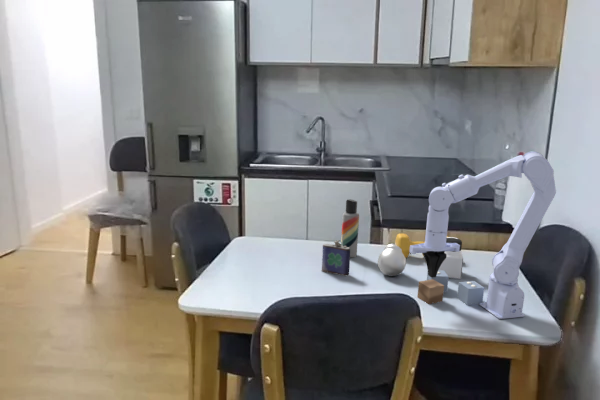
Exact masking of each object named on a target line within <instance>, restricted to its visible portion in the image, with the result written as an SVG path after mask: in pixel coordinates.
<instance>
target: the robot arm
mask: <svg viewBox="0 0 600 400" xmlns="http://www.w3.org/2000/svg"><path fill="white" fill-rule="evenodd" d="M522 174H523V175H524V176H525V177H526V179H528V181H529V182H530V184H531V186H532V188H533V193H532V195H531V196H530V198H529V200H528V202H527V204H526V205H525V208H524V209H523V211H522V214H521V215H520V217H519V219H518V221H517V223H516V225H515V227H514V228H513V230H512V233H511V234H510V235H509V238H508V240H507V241H506V243H505V244H504V245H503V246H502V248H501V250H500V251H498V252H496V253H495V254H494V255H493V257H492V259H491V263H492V264H491V265H492V267H493V272H492V273H491V274H490V275H489V280H488V288H487V295H486V296H487V297H486V302H485V301H484V302H482V303H480V304H479V305H480V306H481V307H483V309H485V310H486V311H488V313H490V314H492V315H493V316H494V317H496V318H497V319H499V320H503V319H504V320H505V319H512V318H522V317H525V314H524V313H523V310H524V309H523V308H524V303H525V302H524V301H525V293H524V290H523V289H522V288H521V287H520V286H519V283H518V281H519V280H518V279H519V275H520V266H521V265H522V262H523V258H524V254H525V252H526V250H527V248H528V246H529V244H530V243H531V240H532V239H533V236H534V235H535V233H536V231H537V230H538V228H539V225H540V224H541V222H542V221H543V219H544V216H545V214H546V212H548V210H549V207H550V205H551V204H552V201H554V198H555V197H556V193H557V189H556V182H555V176H554V174H555V171H554V169H553V166H552V165H551V164H550V161H548V159H547V158H546V157H544V155H543V154H542V153H541V152H538V151H532V150H531V151H528V152H525V154H520V155H517V156H514V157H512V158H510V159H507V160H506V161H502V162H501V163H499V164H497V165H496V166H493V167H491V168H489V169H487V170H485V171H483V172H481V173H479V174H477V175H475V176H474V175H470V174H466V175H464V174H460V175H458V178H456V179H455V180H454V179H453V180H451V181H449V182H447V183H446V182H443V183H442V184H441V186H436V187H434V188H432V189H431V191H430V193H429V195H428V196H429V197H428V203H429V206H428V212H427V218H426V225H425V226H426V229H425V237H424V238H425V239H424V242H425V243H422V244H417V245H410V251H409V252H410V253H409V254H411V255H417V254H422V255H423V257H424V260H425V264H426V269H427V272H428V275H429V276H430V277H436V275H437V272H438V270H439V268H440V266H441V264H442V263H443V261H444V260H445V259H446V256H447V254H445V253H444V252H445V251H456V252H459V249H460V245H459V244H457V243H446V239H447V236H448V229H449V228H448V226H449V220H450V216H449V215H450V214H449V208H450V206H451V204H457V203H459V202H461V201H463V200H464V201H465V200H466V199H467V198H470V197H472V196H475V195H477V194H479V190H480V188H482V187H484V186H486V185H489V184H492V183H494V182H496V181H499V180H501V179H505V178H507V177H513V178H515V177H516V178H520V179H522V178H523V176H522Z"/></svg>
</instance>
